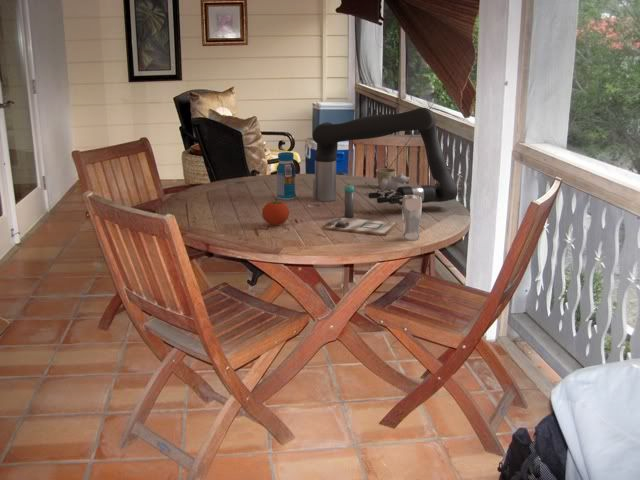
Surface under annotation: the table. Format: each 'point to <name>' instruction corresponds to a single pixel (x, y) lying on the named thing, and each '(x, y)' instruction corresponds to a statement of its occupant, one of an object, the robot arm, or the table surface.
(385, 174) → the flower pot
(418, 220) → the beer glass
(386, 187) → the dog figurine
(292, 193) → the beverage bottle
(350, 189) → the marker
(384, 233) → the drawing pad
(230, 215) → the table surface
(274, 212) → the tomato
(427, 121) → the robot arm
